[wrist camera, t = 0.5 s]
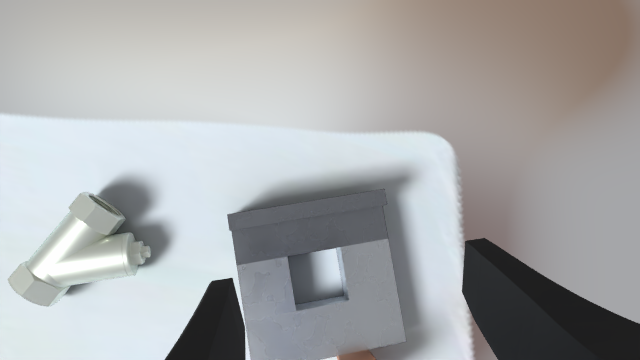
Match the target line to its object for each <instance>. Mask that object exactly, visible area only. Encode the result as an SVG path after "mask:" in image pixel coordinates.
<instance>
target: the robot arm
mask: <svg viewBox="0 0 640 360" xmlns="http://www.w3.org/2000/svg"><path fill="white" fill-rule="evenodd" d="M462 293H463V295H464V297H465V300H466V302H467V304H468V307H469V309H470V311H471V313H472V316H473V318H474V320H475V322H476V324H477V325H478V327H479V328H480V330H481V332H482V334H483V335H484V337H485V339H486V340H487V342H488V344H489V345H490V347H491V349H492V350H493V352H494V354H495V355H496V357H497V359H498V360H640V324H638V323H636V322H634V321H631V320H628V319H626V318H624V317H622V316H619V315H617V314H615V313H613V312H611V311H609V310H606V309H604V308H602V307H600V306H598V305H596V304H594V303H592V302H590V301H588V300H586V299H584V298H582V297H580V296H578V295H576V294H574V293H573V292H571V291H569V290H567V289H566V288H564V287H562V286H560V285H558V284H556V283H555V282H553V281H551V280H550V279H548V278H546V277H545V276H543V275H541V274H540V273H538V272H537V271H535V270H534V269H531V268H530V267H529V266H527V265H526V264H524V263H523V262H521V261H519V260H518V259H516V258H515V257H513V256H511V255H510V254H509V253H507V252H506V251H504V250H503V249H501V248H500V247H498V246H497V245H495V244H493V243H492V242H490V241H489V240H487V239H485V238H482V239H475V240H469V241H465V255H464V270H463V285H462ZM165 360H245V326H244V322H243V318H242V314H241V310H240V306H239V302H238V298H237V294H236V290H235V286H234V283H233V279H232V278H228V279H222V280H216V281H212V282H211V283H210V284H209V286H208V288H207V290H206V292H205V294H204V296H203V298H202V299H201V301H200V303H199V305H198V307H197V309H196V310H195V312H194V314H193V316H192V318H191V319H190V321H189V323H188V324H187V326H186V328H185V329H184V331H183V333H182V334H181V336H180V337H179V339H178V341H177V342H176V344H175V345H174V347H173V348H172V350H171V351H170V353H169V354H168V356H167V357H166V358H165Z"/></svg>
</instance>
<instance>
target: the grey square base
mask: <svg viewBox="0 0 640 360" xmlns="http://www.w3.org/2000/svg"><path fill="white" fill-rule="evenodd" d="M386 204H387V201H386V195H385V189H381V190H375V191H369V192H362V193H356V194H350V195H344V196H338V197H332V198H325V199H319V200H313V201H307V202H301V203H295V204H288V205H282V206H276V207H270V208H264V209H258V210H251V211H245V212H239V213H233V214H227V216H228V223H229V230H230V231H232V237H233V244H234V251H235V257H236V264H237V271H238V277H239V284H240V291H241V297H242V304H243V311H244V317H245V324H246V331H247V337H248V344H249V351H250V357H251V360H321V359H326V358H330V357H335V356H340V355H345V354H349V353H354V352H359V351H364V350H369V349H373V348H378V347H383V346H388V345H392V344H397V343H402V342H406V337H405V331H404V326H403V320H402V314H401V309H400V303H399V297H398V292H397V286H396V280H395V275H394V269H393V263H392V258H391V252H390V246H389V241H388V235H387V229H386V224H385V218H384V212H383V207H382V205H386ZM332 248H336V250H337V256H338V262H339V268H340V274H341V280H342V286H343V292H344V296H339V297H334V298H329V299H324V300H318V301H313V302H308V303H303V304H297V305H295V301H294V295H293V289H292V282H291V276H290V270H289V263H288V257H287V256H293V255H299V254H304V253H310V252H316V251H321V250H327V249H332Z"/></svg>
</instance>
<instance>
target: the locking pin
mask: <svg viewBox="0 0 640 360" xmlns="http://www.w3.org/2000/svg"><path fill="white" fill-rule="evenodd" d="M337 359H338V360H376V359H375V358H374V356H373V355H372V354H371V352H370V351H369V350H364V351H359V352H354V353H349V354H345V355H340V356H337Z"/></svg>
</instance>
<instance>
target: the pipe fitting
mask: <svg viewBox="0 0 640 360" xmlns="http://www.w3.org/2000/svg"><path fill="white" fill-rule="evenodd" d="M69 209H70V212H69V213H68V214H67V215H66V216H65V218H64V219H63V220H62V221H61V222H60V224H59V225H58V226H57V227H56V228H55V229H54V231H53V232H52V233H51V234H50V235H49V237H48V238H47V239H46V240H45V241H44V242H43V244H42V245H41V246H40V247H39V248H38V250H37V251H36V252H35V253H34V254H33V256H32V257H31V258H30V259H29V260H28V261H26V262H24V263H22V264H20V265H19V266H18V268H17V269H16V270H15V271H14V272H13V274H12V275H11V276H10V277H9V278H8V281H9V284H10V286H11V287H12V289H13V290H14V291H15V292H16V293H17V294H18V295H20V296H21V297H23V298H24V299H26V300H28V301H30V302H32V303H34V304H37V305H41V306H47V307H49V306H52V305H54V304H55V303H57V302H58V301H59V300H60V299H61V298H62V297H63V295H64V294H65V293H66V292H67V290H68V289H69V288H70V287H71V286H70V285H76V284H83V283H89V282H95V281H101V280H108V279H114V278H120V277H127V276H133V275H136V273H137V270H138V265H139V264H143V263H145V258H146V257H150V256H151V250H150V246H144V244H143V242H142V241H137V242H136V240H135V238H134V235H133V234H132V233H122V234H115V235H112V234H114V233H115V232H116V231H117V229H118V228H119V227H120V226H121V225H122V223H123V222H124V221H125V217H124V216H123V214H122V213H121V212H120V211H118V210H117V209H116V208H115V207H113V206H112V205H111V204H109V203H108V202H106V201H105V200H103V199H101V198H100V197H98V196H96V195H94V194H92V193H89V192H83V193H80V194H79V196H78V197H77V198H76V199H75V200H74V202H73V203H72V204H71V205H70V206H69Z"/></svg>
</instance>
